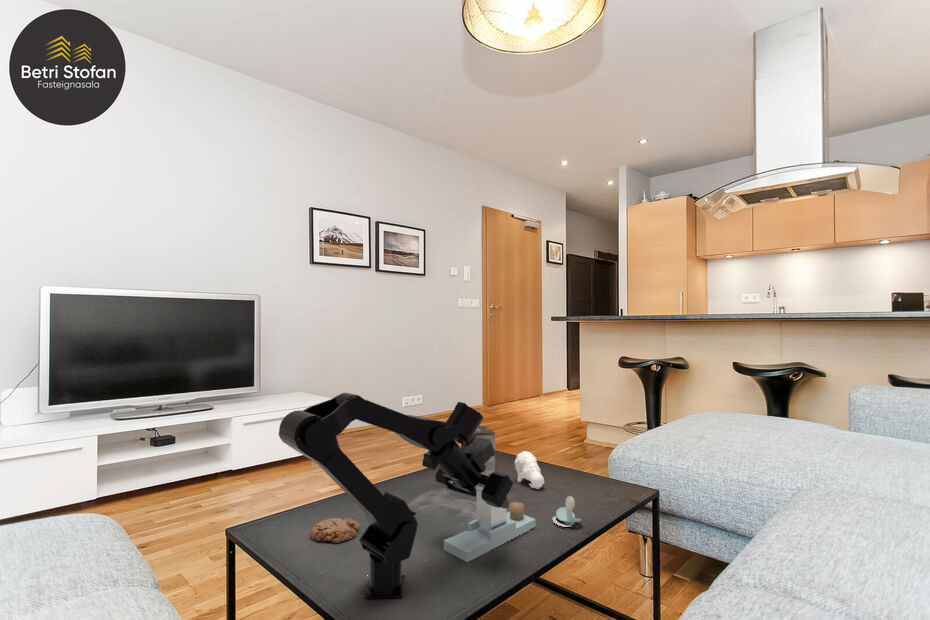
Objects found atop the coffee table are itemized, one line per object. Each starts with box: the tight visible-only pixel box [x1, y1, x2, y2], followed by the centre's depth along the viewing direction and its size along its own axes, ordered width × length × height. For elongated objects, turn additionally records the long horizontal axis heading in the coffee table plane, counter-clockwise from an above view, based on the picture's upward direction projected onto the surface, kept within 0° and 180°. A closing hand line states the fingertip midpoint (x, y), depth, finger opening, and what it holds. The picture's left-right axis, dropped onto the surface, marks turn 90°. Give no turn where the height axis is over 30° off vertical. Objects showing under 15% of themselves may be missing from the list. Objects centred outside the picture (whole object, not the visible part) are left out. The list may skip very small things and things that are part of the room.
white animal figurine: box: [514, 450, 545, 490], centre depth 136 cm, size 6×8×12 cm
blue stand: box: [443, 501, 536, 563], centre depth 102 cm, size 22×7×5 cm, turn 134°
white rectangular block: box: [476, 485, 508, 534], centre depth 103 cm, size 6×4×10 cm
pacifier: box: [551, 495, 582, 528], centre depth 110 cm, size 7×6×6 cm
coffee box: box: [469, 425, 496, 490], centre depth 136 cm, size 9×6×16 cm
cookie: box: [310, 517, 360, 544], centre depth 105 cm, size 10×11×3 cm
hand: (491, 500), depth 102 cm, fingers open, 9 cm apart
